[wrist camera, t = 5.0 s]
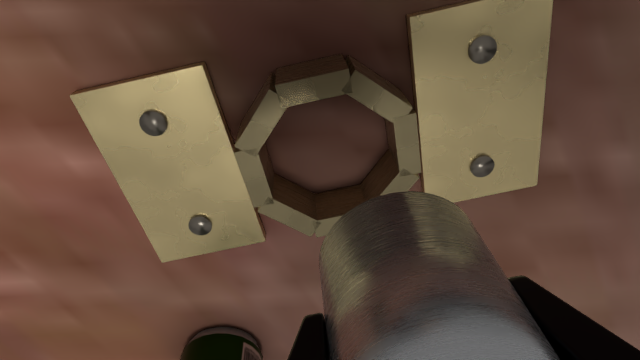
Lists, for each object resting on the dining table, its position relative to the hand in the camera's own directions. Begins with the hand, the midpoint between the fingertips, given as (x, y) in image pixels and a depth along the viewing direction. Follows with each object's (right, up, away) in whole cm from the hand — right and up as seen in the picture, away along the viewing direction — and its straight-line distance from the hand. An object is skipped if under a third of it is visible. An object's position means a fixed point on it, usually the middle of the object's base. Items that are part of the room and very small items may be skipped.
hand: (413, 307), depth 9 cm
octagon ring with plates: (-2, +5, +11) cm, 12 cm away
